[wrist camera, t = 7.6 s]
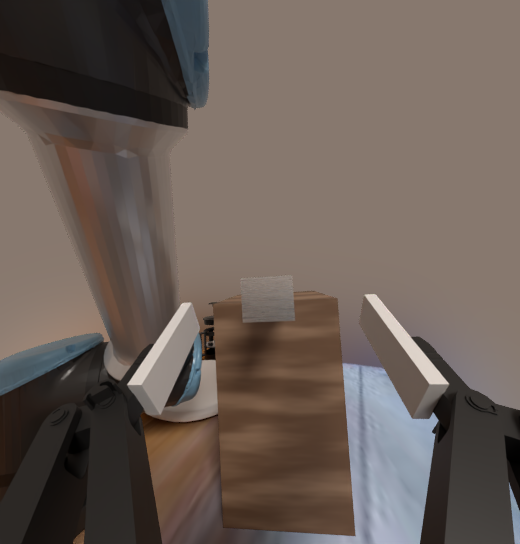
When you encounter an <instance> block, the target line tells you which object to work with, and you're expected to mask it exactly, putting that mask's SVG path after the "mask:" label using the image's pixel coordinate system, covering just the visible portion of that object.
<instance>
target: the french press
mask: <svg viewBox="0 0 520 544" xmlns="http://www.w3.org/2000/svg"><path fill="white" fill-rule="evenodd" d="M215 303H218V302H212V303H209V304H215ZM203 320H204V323H205V325H214V316H209V317H205V318H203ZM213 330H214V327H212V328H208V329H205V330H204V332H201V333H199V335H200V339H201V334H204V345H205V346H204V348H205V354H202V356H205V359H204V360H216V357H215V340H214V341H213V336H215V335H214V332H213ZM208 331H209V332H208ZM206 336H209V342H207V343H206ZM201 340H202V339H201ZM201 347H202V341H201ZM207 348H210V349H208V350H207Z"/></svg>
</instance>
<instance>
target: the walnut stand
mask: <svg viewBox="0 0 520 544" xmlns="http://www.w3.org/2000/svg"><path fill="white" fill-rule="evenodd" d="M293 296H294V311H295V321H274V322H248V323H243V317H242V298H241V295H237V296H234V297H231V298H229V299H226V300H223V301H221V302H218V303H215V304H213V313H214V335H215V357H216V379H217V400H218V422H219V444H220V466H221V488H222V509H223V528H238V529H254V530H269V531H285V532H301V533H316V534H332V535H348V536H355V525H354V512H353V499H352V485H351V472H350V459H349V446H348V432H347V419H346V406H345V393H344V379H343V366H342V353H341V340H340V327H339V313H338V300H337V298H334V297H331V296H328V295H325V294H322V293H319V292H315V291H305V292H293Z"/></svg>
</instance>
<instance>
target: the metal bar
mask: <svg viewBox="0 0 520 544" xmlns="http://www.w3.org/2000/svg"><path fill="white" fill-rule="evenodd" d="M292 281H293V280H292V275H289V276H273V277H255V278H241V298H242V317H243V323H248V322H274V321H295V311H294V296H293V282H292Z"/></svg>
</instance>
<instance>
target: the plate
mask: <svg viewBox="0 0 520 544" xmlns="http://www.w3.org/2000/svg"><path fill="white" fill-rule="evenodd" d="M146 414H147V413H146ZM216 414H218V400H217V379H216V360H202V366H201V381H200V386H199V390H198V392H197V394H196V396H195V397H194V398H193V399H191V400H189V401H186V402H182V403H180V404H179V405H177V406H174V407H172V406H169V407H165V408H163V411H162V413H161V415H150V416H152V417H155V418H158V419H161V420H166V421H172V422H189V421H195V420H201V419H204V418H208V417H211V416H214V415H216Z"/></svg>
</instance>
